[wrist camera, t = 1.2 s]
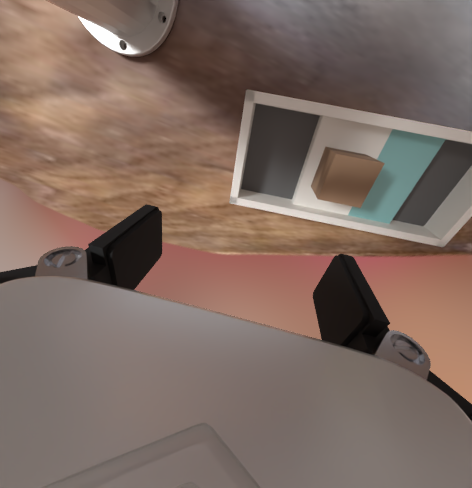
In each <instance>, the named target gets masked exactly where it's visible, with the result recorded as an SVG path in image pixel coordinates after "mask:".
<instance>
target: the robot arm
mask: <svg viewBox="0 0 472 488" xmlns="http://www.w3.org/2000/svg"><path fill="white" fill-rule="evenodd" d="M46 1H48V2H50V3H52V4H54V5H56V6H58V7H60V8H62V9H64V10H67V11H69V12H71V13H73V14H75V15H77V16H78V18H79V19H80V21H81V22H82V24H83V25H84V26H85V27H86V29H87V30H88V31H89V32H90V33H91V35H92V36H93V37H95V38H96V39H97V40H98V41H99V42H100V43H101V44H103V45H104V46H106V47H107V48H109V49H110V50H112V51H114V52H117V53H119V54H122V55H126V56H130V57H141V56H144V55H147V54H150V53H151V52H153V51H154V50H156V49H157V48H158V47H159V46H160V45H161V44H162V43H163V42H164V41H165V39H166V37H167V36H168V34H169V32H170V30H171V28H172V25H173V22H174V20H175V17H176V11H177V6H178V0H46ZM164 18H166V22H165V23H164ZM126 45H127V49H126ZM161 254H162V212H161V211H160V210H159V209H158V207H155V206H151V205H147V204H146V205H144V206H143V207H142V208H140V209H139V210H137V211H136V212H134V213H133V214H131V215H130V216H129V217H127V218H126V219H124V220H123V221H121V222H120V223H118V224H117V225H116V226H114V227H113V228H111V229H110V230H108V231H107V232H105V233H104V234H103V235H101V236H100V237H98V238H97V239H95V240H94V241H92V242H91V243H90V244H89V248H87V249H86V250H83V249H82V248H79V247H72V246H71V247H61V248H57V249H54V250H51V251H49V252H47V253H45V254H44V255H43V256H41V257H40V259H39V261H38V265H36V266H31V267H26V268H21V269H16V270H11V271H6V272H0V488H472V404H471V403H469V402H468V401H467V400H466V399H464V398H463V397H462V396H461V395H459V394H458V393H457V392H456V391H454V390H453V389H452V388H450V386H448V385H447V384H446V383H445V382H443V381H442V380H441V379H440V378H438V377H437V376H436V375H435V374H433V373H432V372H431V371H430V370H429V369H430V359H429V357H428V355H427V353H426V352H425V351H424V349H423V348H422V347H421V346H420V345H419V344H418V343H417V342H416V341H414V340H413V339H412V338H410V337H409V336H407V335H406V334H404V333H401V332H399V331H394V330H393V331H390V330H389V329H388V327H387V326H388V325H389V324H390V322H389V321H388V319H387V317H386V315H385V314H384V312H383V310H382V308H381V306H380V305H379V303H378V301H377V299H376V297H375V295H374V294H373V292H372V290H371V288H370V286H369V285H368V283H367V281H366V279H365V277H364V276H363V274H362V272H361V270H360V268H359V267H358V265H357V263H356V261H355V259H354V258H353V257H352V256H348V255H344V254H339V255H338V256H335V257H334V258H333V260H332V262H331V263H330V265H329V267H328V268H327V270H326V272H325V274H324V275H323V277H322V278H321V280H320V282H319V284H318V285H317V287H316V289H315V290H314V292H313V299H314V304H315V309H316V314H317V319H318V324H319V328H320V333H321V338H322V340H320V339H316V338H312V337H308V336H305V335H301V334H298V333H294V332H290V331H287V330H283V329H279V328H275V327H272V326H268V325H265V324H261V323H257V322H253V321H250V320H246V319H242V318H238V317H235V316H231V315H227V314H223V313H220V312H216V311H212V310H208V309H205V308H201V307H197V306H193V305H189V304H186V303H182V302H178V301H174V300H170V299H166V298H162V297H159V296H155V295H151V294H147V293H143V292H139V291H135V290H134V289H135V288H136V287H137V285H138V284H139V283H140V281H141V280H142V279H143V278H144V277H145V276H146V274H147V273H148V272H149V271H150V269H151V268H152V267H153V266H154V264H155V263H156V262H157V261H158V259H159V258H160V256H161Z"/></svg>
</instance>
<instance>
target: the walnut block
mask: <svg viewBox="0 0 472 488" xmlns="http://www.w3.org/2000/svg"><path fill="white" fill-rule="evenodd" d="M384 164H385V163H383V162H381V161H379V160H377V159H375V158H372V157H370V156H368V155H366V154H361V153H356V152H351V151H346V150H341V149H335V148H330V147H325V149H324V152H323V154H322V157H321V160H320V162H319V165H318V168H317V171H316V173H315V176H314V179H313V181H312V184H311V188H312V189H313V191H314V193H315V195H316V197H317V199H319V200H323V201H328V202H333V203H338V204H343V205H348V206H353V207H358V208H361V206H362V204H363V202H364V200H365V199H366V197H367V195H368V193H369V191H370V189H371V188H372V186H373V184H374V182H375V180H376V179H377V177H378V175H379V173H380V171H381V169H382V168H383V166H384Z"/></svg>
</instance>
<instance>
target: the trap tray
mask: <svg viewBox="0 0 472 488" xmlns="http://www.w3.org/2000/svg"><path fill="white" fill-rule="evenodd" d="M325 147H330V148H335V149H341V150H346V151H351V152H356V153H361V154H366V155H368V156H370V157H372V158H375V159H377V160H379V161H381V162H383V163H385V164H384V166H383V168H382V169H381V171H380V173H379V175H378V177H377V179H376V180H375V182H374V184H373V186H372V188H371V189H370V191H369V193H368V195H367V197H366V199H365V200H364V202H363V204H362V206H361V208H358V207H353V206H348V205H343V204H338V203H333V202H328V201H323V200H319V199H317V197H316V195H315V193H314V191H313V189H312V188H311V184H312V181H313V179H314V176H315V173H316V171H317V168H318V165H319V162H320V160H321V157H322V154H323V152H324V149H325ZM230 203H231V204H236V205H241V206H246V207H251V208H256V209H260V210H265V211H270V212H275V213H280V214H285V215H289V216H294V217H299V218H304V219H309V220H314V221H318V222H323V223H328V224H333V225H338V226H343V227H347V228H352V229H357V230H362V231H367V232H372V233H376V234H381V235H386V236H391V237H396V238H401V239H405V240H410V241H415V242H420V243H425V244H430V245H434V246H439V247H444V246H445V245H446V244H447V243H448V242H449V241H450V240H451V238H452V237H453V236H454V235H455V234H456V233H457V232H458V231H459V230H460V229H461V228H462V226H463V225H464V224H465V223H466V222H467V221H468V220H469V219H470V218H471V217H472V131H467V130H461V129H456V128H451V127H445V126H440V125H435V124H429V123H424V122H419V121H413V120H408V119H403V118H397V117H392V116H387V115H381V114H376V113H371V112H365V111H360V110H355V109H349V108H344V107H339V106H333V105H328V104H323V103H317V102H312V101H307V100H301V99H296V98H291V97H285V96H280V95H275V94H269V93H264V92H259V91H253V90H248V89H246V94H245V101H244V108H243V115H242V121H241V128H240V135H239V142H238V149H237V155H236V162H235V169H234V176H233V183H232V189H231V196H230Z"/></svg>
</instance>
